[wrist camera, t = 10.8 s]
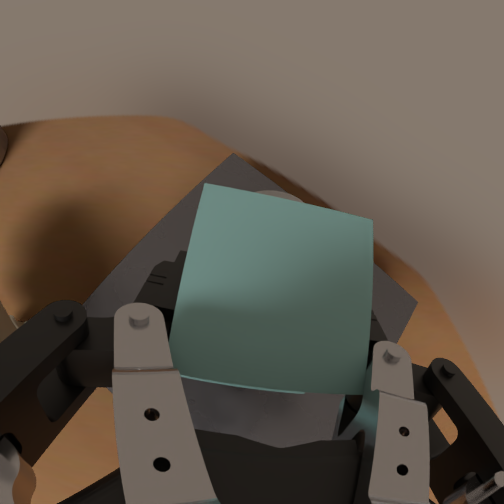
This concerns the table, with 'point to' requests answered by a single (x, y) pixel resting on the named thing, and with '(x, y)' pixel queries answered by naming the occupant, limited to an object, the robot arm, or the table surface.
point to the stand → (231, 397)
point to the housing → (274, 295)
